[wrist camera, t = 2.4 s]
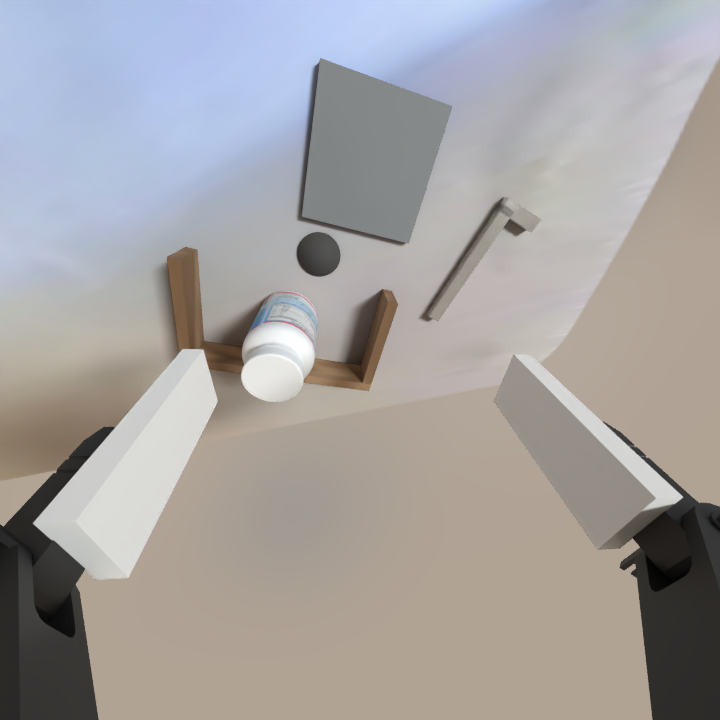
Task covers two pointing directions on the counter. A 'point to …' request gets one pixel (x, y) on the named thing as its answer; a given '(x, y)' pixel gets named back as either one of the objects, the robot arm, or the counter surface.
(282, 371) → the pill bottle
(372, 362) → the cubby
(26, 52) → the counter surface
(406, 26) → the counter surface
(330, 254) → the disc
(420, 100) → the coaster
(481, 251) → the crook tool
